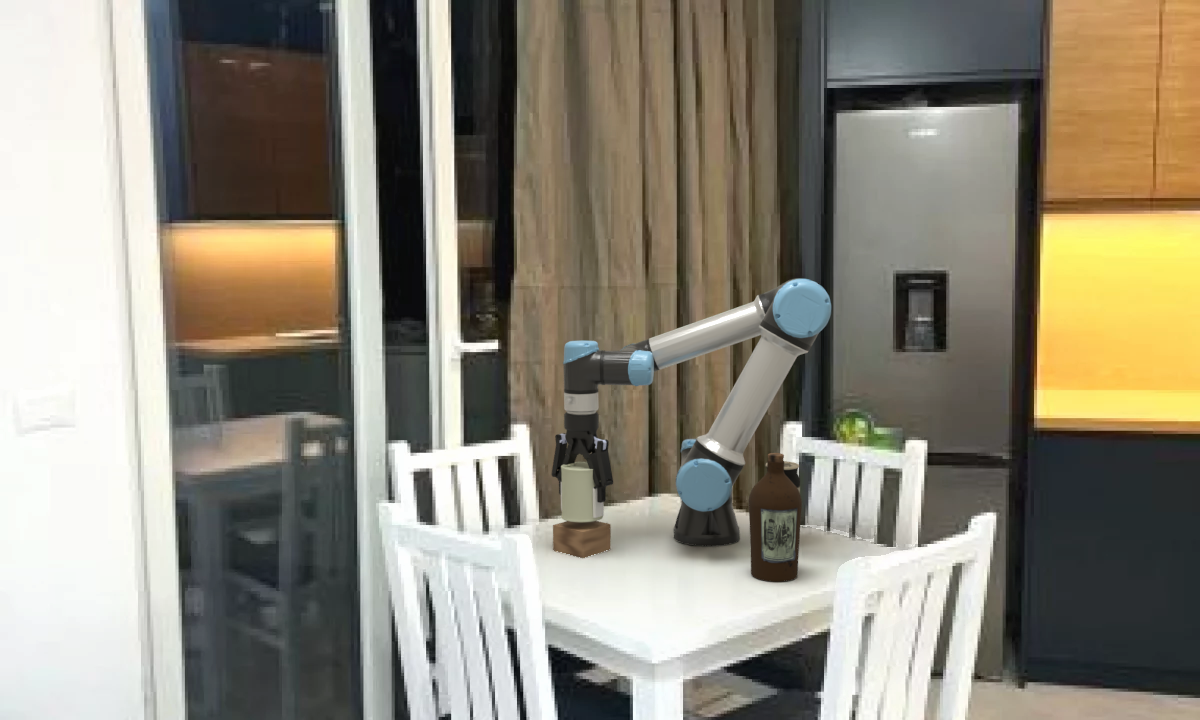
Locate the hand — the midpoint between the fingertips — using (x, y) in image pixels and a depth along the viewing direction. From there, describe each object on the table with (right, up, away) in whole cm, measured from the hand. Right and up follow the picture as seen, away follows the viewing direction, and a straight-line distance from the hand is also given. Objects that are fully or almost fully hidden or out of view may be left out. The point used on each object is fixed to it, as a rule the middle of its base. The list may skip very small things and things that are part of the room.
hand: (582, 512), depth 236 cm
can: (0, -1, 0) cm, 1 cm away
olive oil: (+39, -10, -18) cm, 44 cm away
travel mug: (+45, -8, +6) cm, 46 cm away
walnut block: (0, -9, +1) cm, 9 cm away
